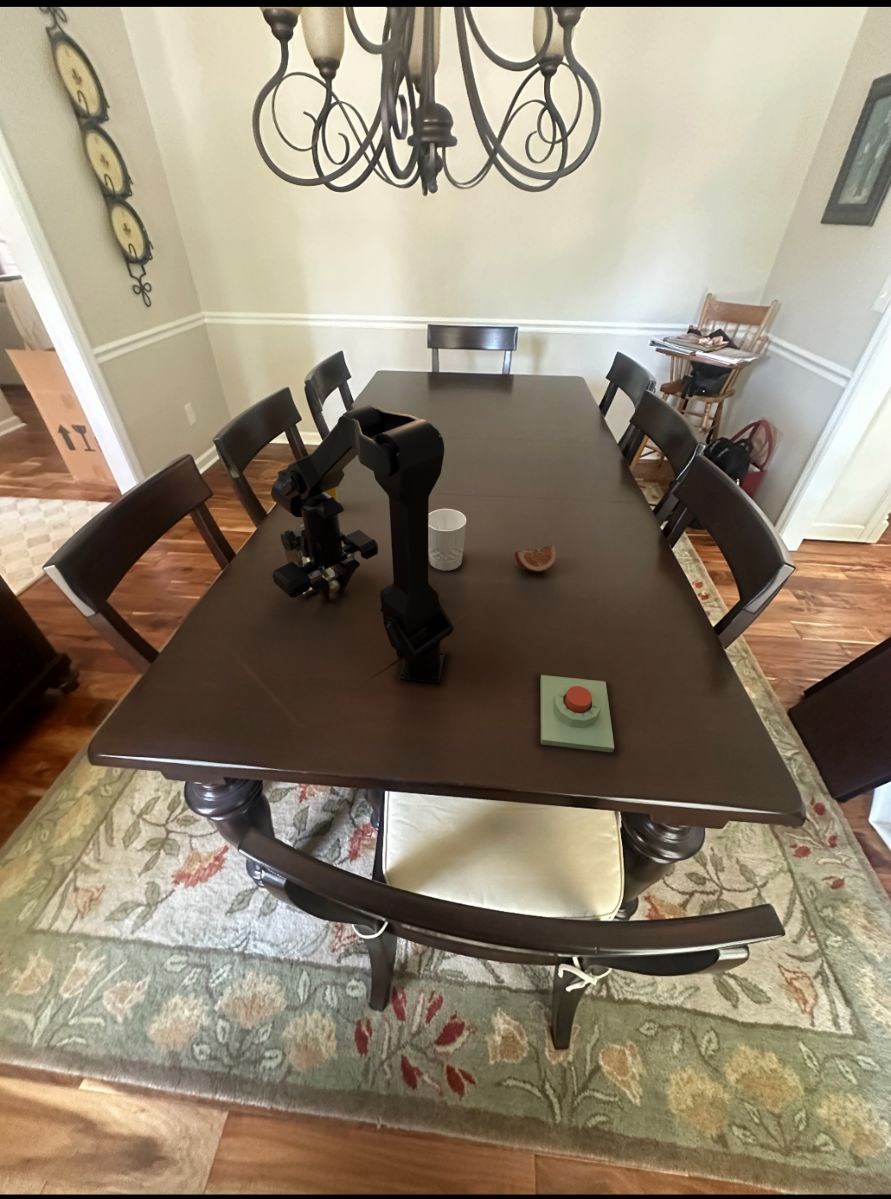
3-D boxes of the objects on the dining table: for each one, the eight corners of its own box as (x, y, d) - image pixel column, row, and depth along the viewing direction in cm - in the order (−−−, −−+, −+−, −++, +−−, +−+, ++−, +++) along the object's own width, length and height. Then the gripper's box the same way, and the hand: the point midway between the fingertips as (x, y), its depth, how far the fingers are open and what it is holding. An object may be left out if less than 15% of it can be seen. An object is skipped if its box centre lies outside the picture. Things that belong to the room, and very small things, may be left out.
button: (590, 714, 74) (593, 707, 73) (565, 711, 74) (567, 704, 73) (588, 694, 77) (590, 687, 75) (564, 692, 77) (566, 684, 76)
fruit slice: (546, 555, 107) (549, 535, 104) (560, 575, 102) (564, 554, 99) (508, 562, 105) (510, 542, 102) (521, 582, 100) (523, 561, 97)
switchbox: (612, 752, 72) (617, 740, 70) (540, 744, 73) (543, 732, 71) (604, 686, 81) (608, 673, 79) (540, 679, 82) (542, 667, 80)
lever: (341, 590, 96) (345, 583, 94) (327, 598, 95) (330, 591, 92) (302, 536, 98) (305, 528, 95) (288, 543, 96) (290, 534, 93)
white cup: (461, 575, 102) (462, 533, 95) (422, 570, 103) (421, 528, 96) (467, 552, 108) (469, 511, 101) (431, 547, 109) (430, 506, 102)
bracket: (340, 579, 101) (333, 536, 94) (305, 598, 96) (295, 554, 90) (311, 557, 106) (302, 514, 99) (277, 574, 102) (265, 530, 95)
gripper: (339, 489, 95) (347, 556, 106) (246, 528, 85) (266, 598, 96) (377, 514, 89) (382, 582, 100) (283, 559, 80) (299, 629, 90)
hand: (333, 596), depth 97 cm, fingers closed on lever, 3 cm apart
